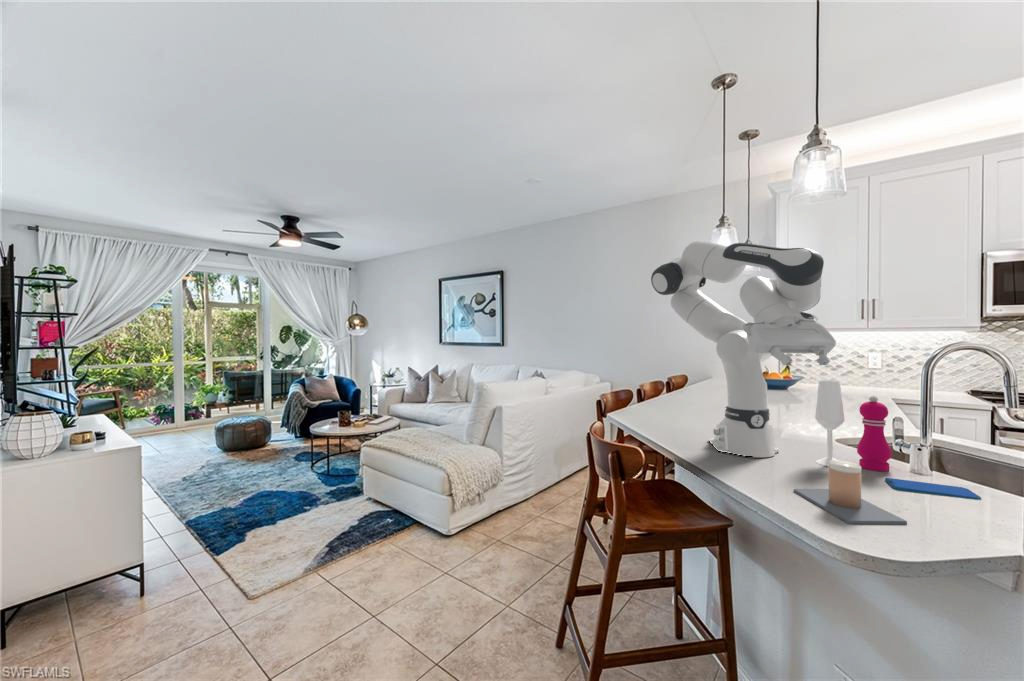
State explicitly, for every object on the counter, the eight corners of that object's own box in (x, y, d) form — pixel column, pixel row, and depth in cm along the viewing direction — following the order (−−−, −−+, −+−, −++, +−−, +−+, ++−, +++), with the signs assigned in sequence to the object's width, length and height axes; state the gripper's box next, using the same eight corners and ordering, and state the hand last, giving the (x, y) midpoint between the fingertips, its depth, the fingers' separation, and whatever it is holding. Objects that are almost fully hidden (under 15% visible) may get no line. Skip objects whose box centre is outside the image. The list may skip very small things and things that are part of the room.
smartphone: (983, 498, 91) (894, 486, 98) (983, 503, 91) (894, 490, 98) (965, 487, 97) (883, 477, 104) (965, 491, 97) (883, 480, 104)
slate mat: (793, 491, 98) (793, 488, 98) (841, 491, 97) (841, 488, 97) (848, 523, 81) (848, 520, 81) (906, 524, 80) (906, 521, 80)
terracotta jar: (822, 498, 92) (822, 460, 91) (847, 498, 91) (847, 460, 91) (841, 508, 86) (841, 468, 86) (868, 508, 86) (868, 468, 86)
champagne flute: (851, 465, 115) (850, 381, 115) (832, 468, 114) (831, 382, 114) (827, 459, 122) (827, 378, 122) (809, 461, 120) (808, 379, 120)
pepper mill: (877, 464, 117) (877, 394, 117) (899, 472, 110) (898, 398, 109) (850, 463, 117) (849, 394, 117) (870, 471, 110) (869, 398, 110)
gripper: (745, 314, 104) (772, 354, 94) (821, 315, 105) (855, 354, 96) (734, 331, 108) (759, 371, 99) (807, 332, 110) (838, 372, 100)
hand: (807, 363), depth 97 cm, fingers open, 8 cm apart
